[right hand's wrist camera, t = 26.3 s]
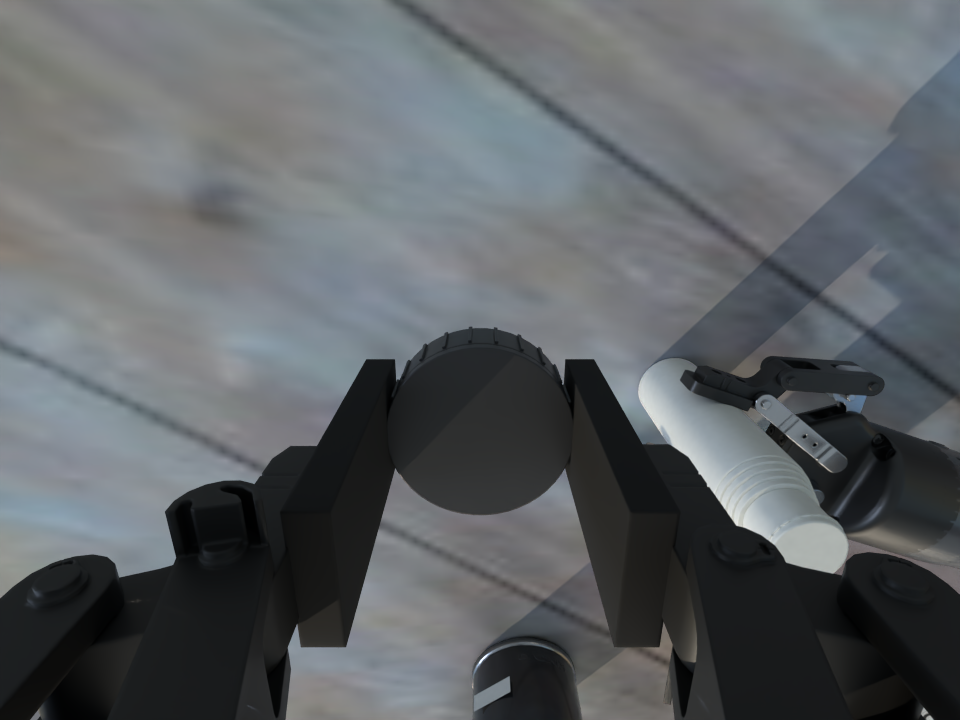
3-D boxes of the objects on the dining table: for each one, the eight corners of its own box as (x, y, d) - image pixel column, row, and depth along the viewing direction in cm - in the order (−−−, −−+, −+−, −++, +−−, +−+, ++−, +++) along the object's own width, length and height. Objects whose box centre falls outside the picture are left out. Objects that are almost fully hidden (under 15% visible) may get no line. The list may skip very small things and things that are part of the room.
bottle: (627, 406, 40) (732, 582, 23) (654, 349, 38) (787, 495, 22) (685, 424, 40) (828, 608, 24) (714, 368, 39) (888, 525, 22)
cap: (442, 505, 16) (438, 542, 14) (361, 370, 14) (347, 395, 13) (592, 444, 15) (605, 476, 13) (523, 295, 13) (529, 312, 12)
